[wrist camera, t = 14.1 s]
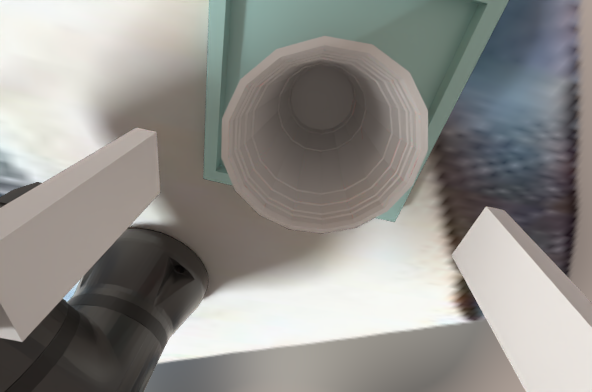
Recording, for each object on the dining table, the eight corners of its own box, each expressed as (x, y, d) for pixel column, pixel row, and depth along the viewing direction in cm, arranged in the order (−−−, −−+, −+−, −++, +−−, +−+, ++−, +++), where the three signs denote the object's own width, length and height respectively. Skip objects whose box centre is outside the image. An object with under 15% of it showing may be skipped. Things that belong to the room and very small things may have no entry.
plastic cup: (381, 156, 27) (413, 240, 17) (269, 156, 28) (236, 235, 18) (398, 23, 21) (462, 30, 11) (256, 29, 22) (198, 41, 12)
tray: (391, 210, 31) (394, 222, 29) (210, 169, 30) (203, 178, 29) (500, -12, 20) (516, -14, 18) (222, -84, 19) (212, -94, 18)
